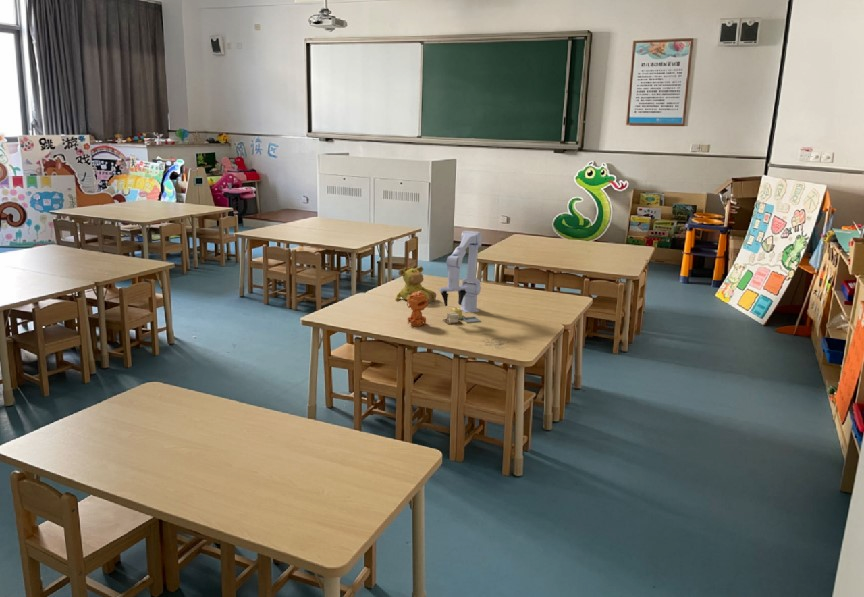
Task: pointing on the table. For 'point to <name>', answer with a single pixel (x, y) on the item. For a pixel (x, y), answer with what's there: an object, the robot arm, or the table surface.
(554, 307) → the table surface
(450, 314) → the maple block
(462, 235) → the robot arm
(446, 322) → the tray walnut
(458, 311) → the letter cube
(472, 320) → the tray slate
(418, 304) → the orange toy figurine
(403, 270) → the green plush bear
